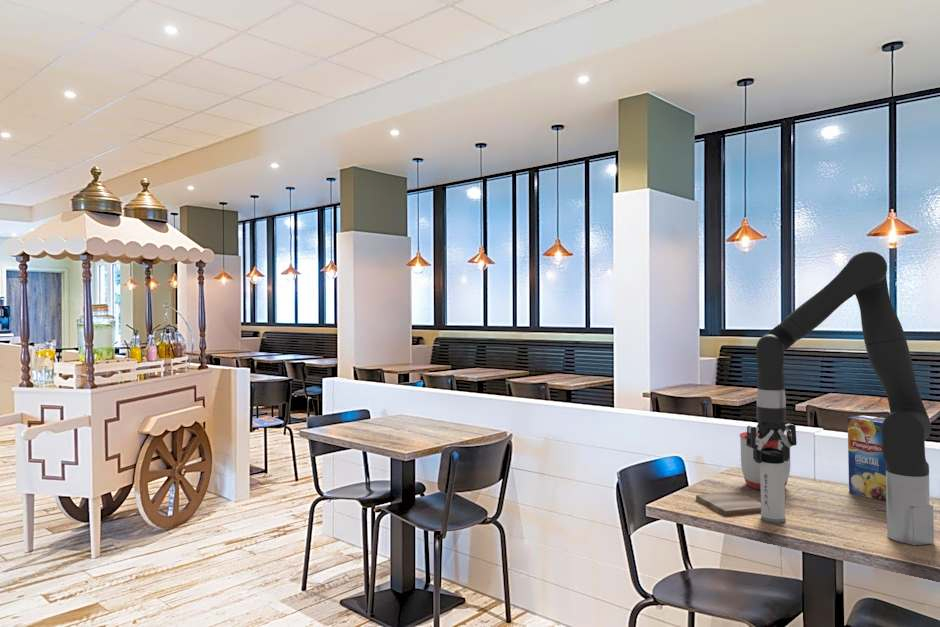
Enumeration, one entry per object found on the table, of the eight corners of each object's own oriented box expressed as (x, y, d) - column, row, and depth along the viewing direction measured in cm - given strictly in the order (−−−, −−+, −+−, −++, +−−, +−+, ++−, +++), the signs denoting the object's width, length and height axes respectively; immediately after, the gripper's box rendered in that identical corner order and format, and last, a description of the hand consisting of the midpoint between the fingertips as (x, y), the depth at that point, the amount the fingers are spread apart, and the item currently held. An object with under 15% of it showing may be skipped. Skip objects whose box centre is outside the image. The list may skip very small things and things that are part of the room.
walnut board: (768, 511, 189) (768, 506, 189) (725, 516, 187) (725, 510, 187) (736, 496, 205) (736, 491, 205) (696, 499, 202) (696, 495, 202)
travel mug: (780, 515, 186) (778, 446, 186) (789, 523, 179) (787, 451, 179) (757, 515, 186) (756, 446, 186) (765, 523, 180) (764, 452, 180)
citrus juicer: (743, 493, 208) (742, 431, 208) (738, 478, 224) (736, 421, 224) (797, 496, 203) (795, 433, 203) (787, 481, 220) (786, 423, 220)
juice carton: (901, 498, 198) (900, 420, 198) (886, 502, 195) (885, 423, 195) (863, 488, 209) (862, 415, 209) (848, 492, 206) (847, 417, 206)
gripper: (756, 408, 177) (757, 466, 178) (802, 405, 180) (803, 463, 180) (740, 404, 185) (741, 460, 185) (784, 401, 187) (785, 456, 188)
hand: (771, 461), depth 183 cm, fingers open, 8 cm apart
